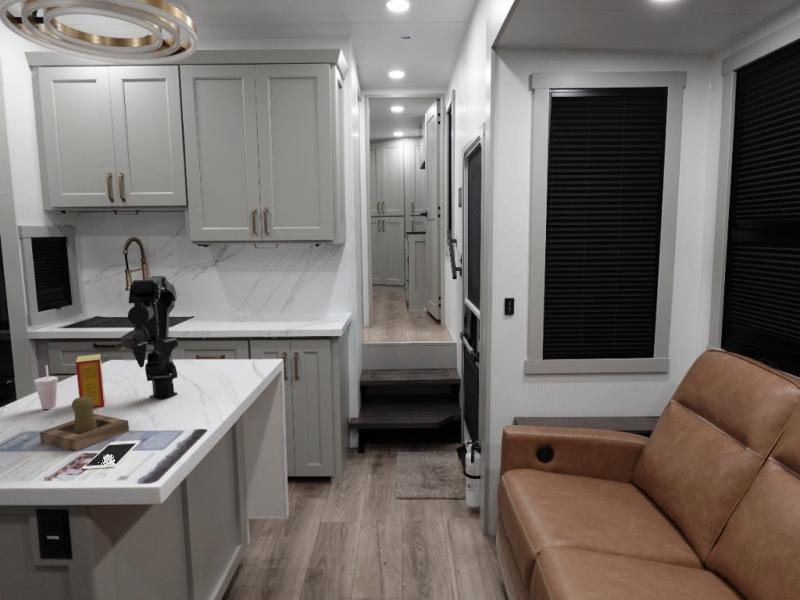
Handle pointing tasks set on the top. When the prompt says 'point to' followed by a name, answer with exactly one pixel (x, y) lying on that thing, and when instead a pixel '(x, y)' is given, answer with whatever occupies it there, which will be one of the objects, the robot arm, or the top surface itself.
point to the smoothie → (47, 390)
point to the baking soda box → (91, 378)
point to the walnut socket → (69, 440)
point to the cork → (83, 415)
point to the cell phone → (113, 453)
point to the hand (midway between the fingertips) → (151, 368)
